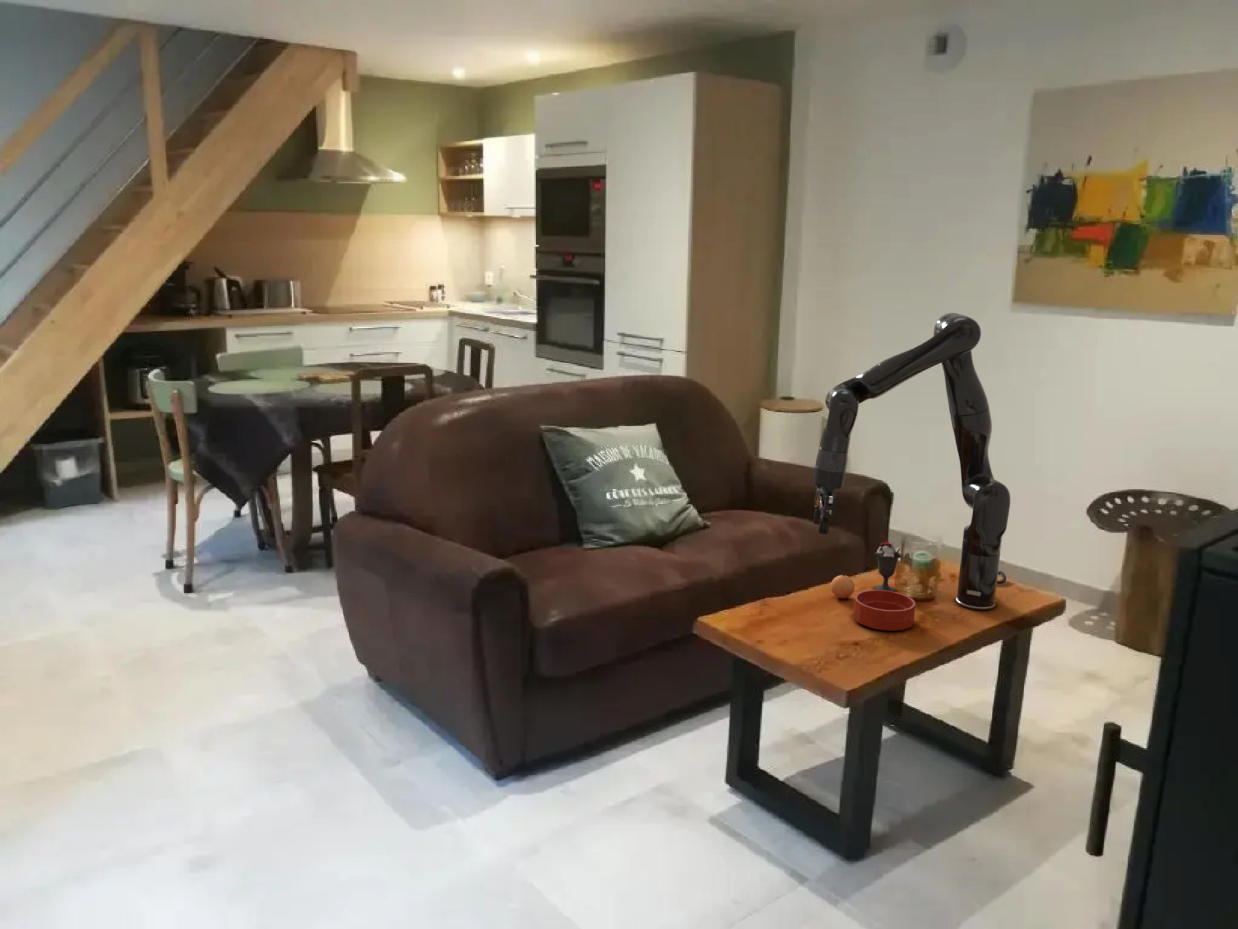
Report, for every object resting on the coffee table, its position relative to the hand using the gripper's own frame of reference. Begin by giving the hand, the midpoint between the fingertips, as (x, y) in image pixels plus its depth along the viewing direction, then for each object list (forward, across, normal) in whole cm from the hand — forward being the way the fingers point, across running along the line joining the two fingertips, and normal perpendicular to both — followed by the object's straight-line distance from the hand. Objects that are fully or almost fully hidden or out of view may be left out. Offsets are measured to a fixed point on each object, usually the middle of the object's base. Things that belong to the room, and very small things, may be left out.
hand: (820, 528), depth 245 cm
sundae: (+18, +10, -22) cm, 30 cm away
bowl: (+18, -12, -16) cm, 27 cm away
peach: (+19, +3, -9) cm, 21 cm away
